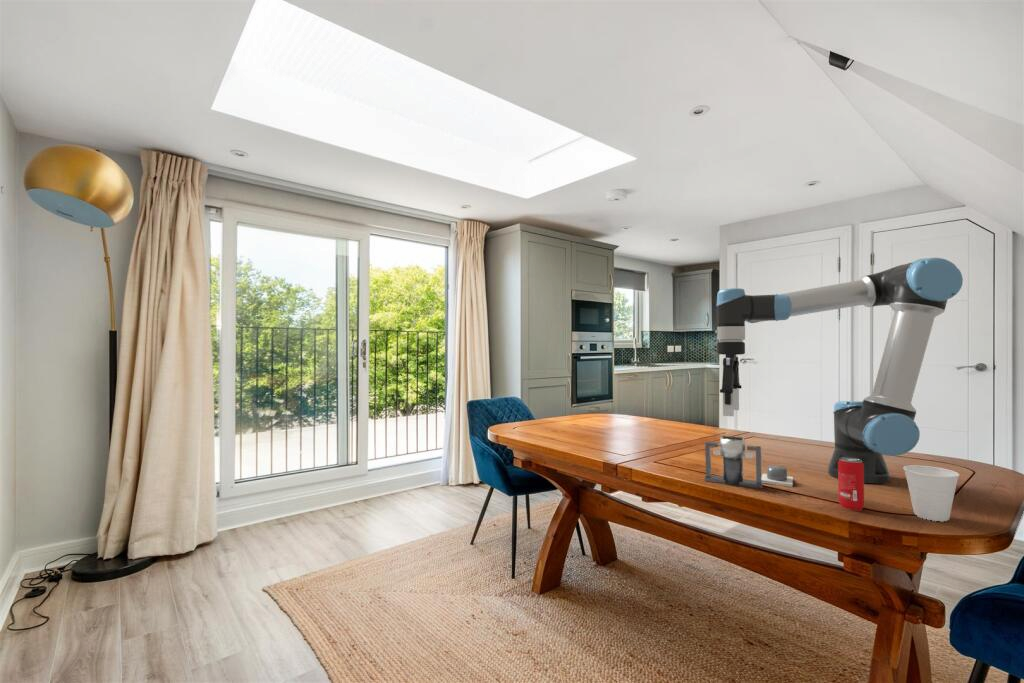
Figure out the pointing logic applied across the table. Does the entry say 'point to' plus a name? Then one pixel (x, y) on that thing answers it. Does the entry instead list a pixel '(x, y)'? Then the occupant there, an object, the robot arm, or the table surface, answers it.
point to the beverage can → (851, 483)
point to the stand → (777, 476)
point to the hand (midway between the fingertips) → (731, 412)
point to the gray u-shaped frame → (733, 468)
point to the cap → (732, 448)
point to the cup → (931, 491)
